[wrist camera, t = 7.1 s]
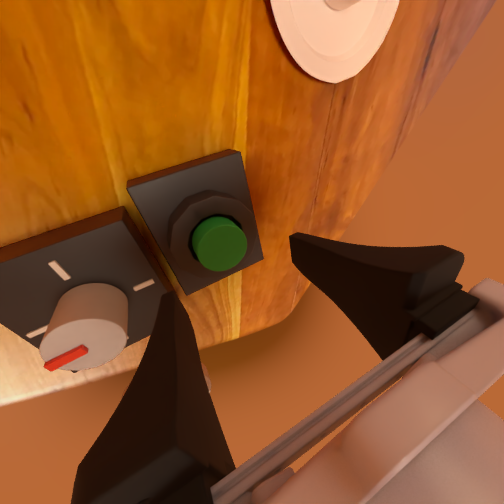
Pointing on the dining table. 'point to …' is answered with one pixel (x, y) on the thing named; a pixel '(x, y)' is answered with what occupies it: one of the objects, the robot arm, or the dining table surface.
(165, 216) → the button block
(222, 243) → the button
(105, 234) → the timer panel
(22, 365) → the dining table surface
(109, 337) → the timer knob
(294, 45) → the candle holder
